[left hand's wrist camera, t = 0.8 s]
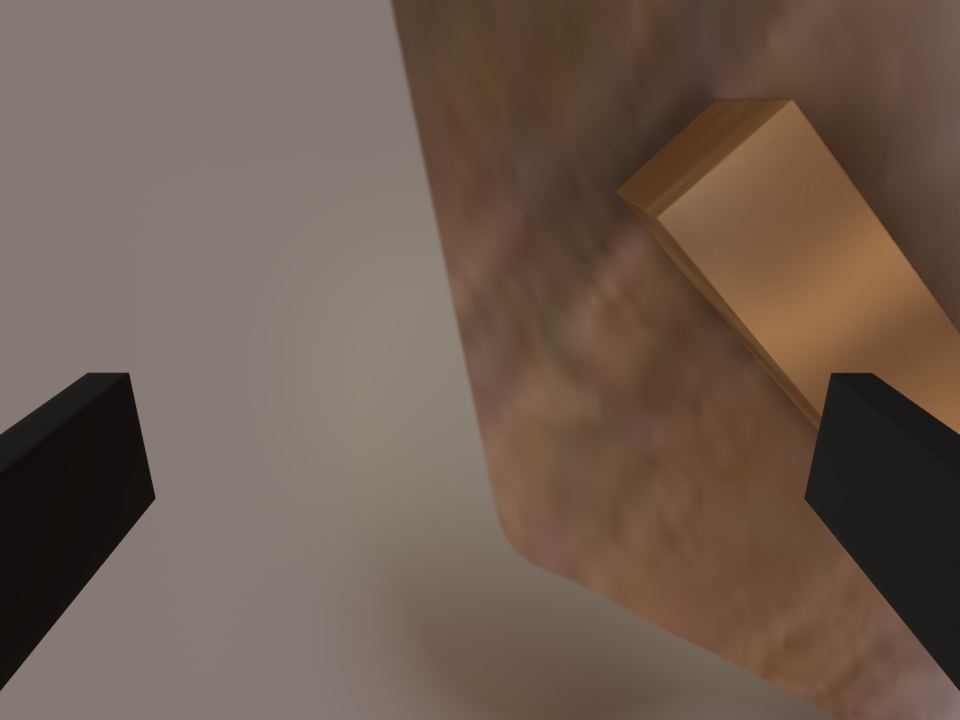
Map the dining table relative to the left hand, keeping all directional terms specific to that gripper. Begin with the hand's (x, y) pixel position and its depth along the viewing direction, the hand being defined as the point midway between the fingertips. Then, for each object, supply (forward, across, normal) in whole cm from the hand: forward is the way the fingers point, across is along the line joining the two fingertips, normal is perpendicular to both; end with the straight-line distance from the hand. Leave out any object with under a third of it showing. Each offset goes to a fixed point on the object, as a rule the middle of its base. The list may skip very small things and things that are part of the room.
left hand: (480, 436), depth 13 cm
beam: (+20, +34, -23) cm, 46 cm away
